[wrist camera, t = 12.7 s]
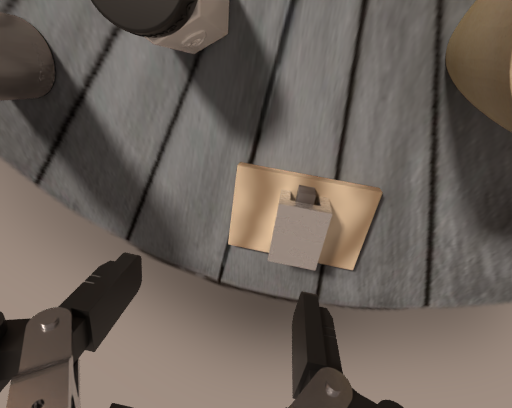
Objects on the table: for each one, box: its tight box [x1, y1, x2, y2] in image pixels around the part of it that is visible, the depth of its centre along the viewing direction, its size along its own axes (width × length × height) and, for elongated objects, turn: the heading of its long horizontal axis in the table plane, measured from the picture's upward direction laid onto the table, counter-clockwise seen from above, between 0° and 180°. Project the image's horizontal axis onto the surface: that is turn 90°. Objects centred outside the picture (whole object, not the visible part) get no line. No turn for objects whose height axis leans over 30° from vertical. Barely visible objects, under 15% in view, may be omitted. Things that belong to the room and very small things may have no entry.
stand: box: [228, 162, 383, 270], centre depth 35 cm, size 18×12×4 cm, turn 82°
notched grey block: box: [268, 189, 332, 270], centre depth 34 cm, size 6×8×4 cm
